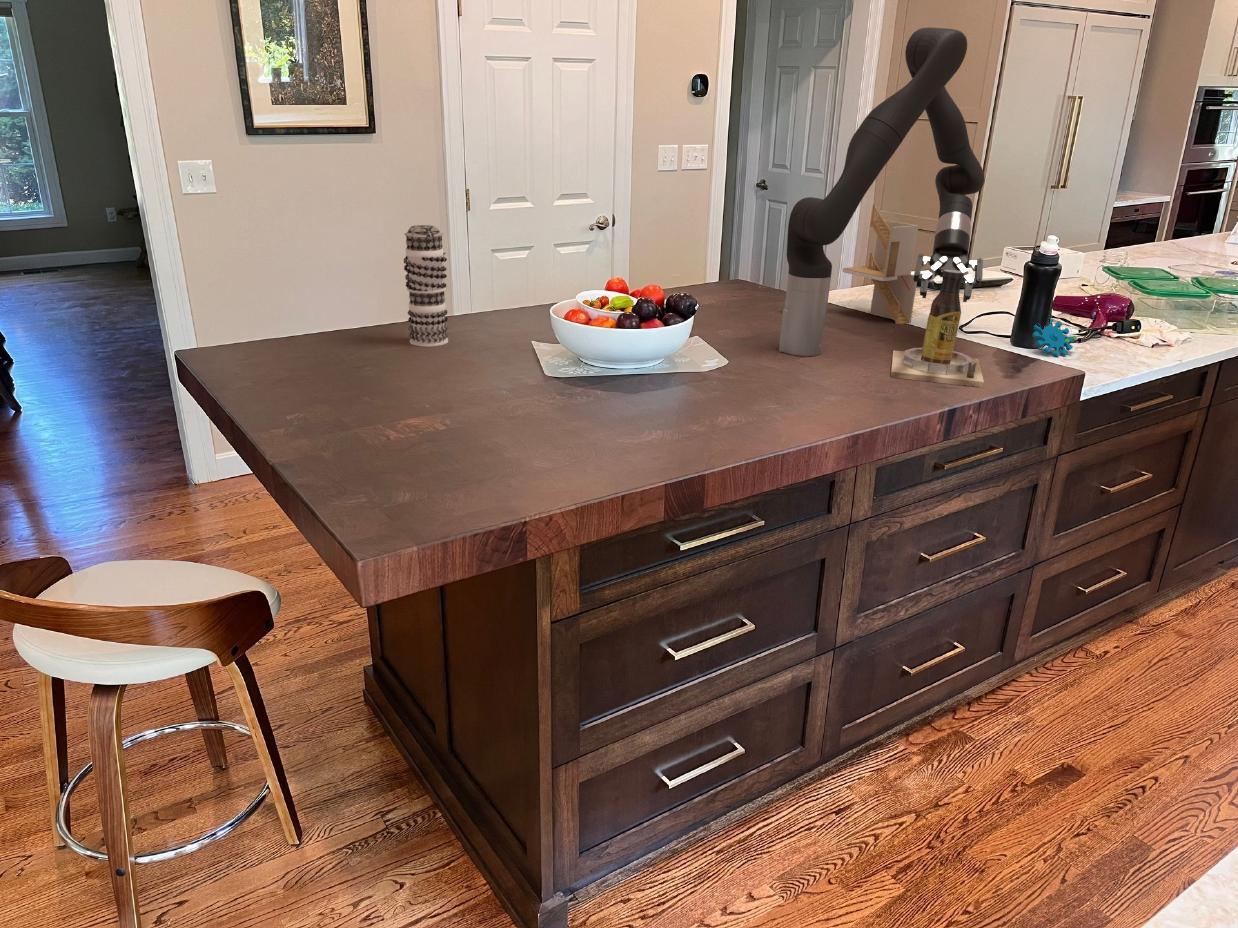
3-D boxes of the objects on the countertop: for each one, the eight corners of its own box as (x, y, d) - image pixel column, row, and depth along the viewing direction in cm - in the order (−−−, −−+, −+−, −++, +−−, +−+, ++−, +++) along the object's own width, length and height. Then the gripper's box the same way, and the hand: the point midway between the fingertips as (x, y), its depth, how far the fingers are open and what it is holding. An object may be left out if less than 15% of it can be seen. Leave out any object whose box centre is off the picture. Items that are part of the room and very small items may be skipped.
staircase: (885, 329, 225) (903, 211, 214) (836, 315, 237) (851, 203, 226) (910, 324, 230) (929, 209, 219) (861, 312, 243) (877, 202, 231)
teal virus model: (1039, 350, 202) (1033, 313, 206) (1023, 363, 207) (1017, 326, 211) (1082, 357, 204) (1075, 320, 208) (1065, 369, 209) (1059, 333, 213)
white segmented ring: (902, 370, 184) (904, 356, 183) (903, 353, 197) (905, 340, 196) (973, 378, 181) (976, 364, 180) (970, 361, 193) (972, 347, 192)
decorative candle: (455, 337, 201) (450, 224, 192) (443, 348, 193) (438, 230, 183) (415, 335, 202) (409, 222, 192) (402, 345, 193) (395, 228, 184)
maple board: (890, 377, 184) (891, 371, 183) (892, 355, 200) (893, 350, 199) (982, 387, 179) (983, 382, 179) (977, 364, 195) (978, 359, 195)
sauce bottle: (935, 370, 185) (952, 274, 178) (913, 362, 190) (929, 269, 183) (957, 367, 188) (975, 272, 181) (935, 359, 193) (951, 267, 186)
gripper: (921, 225, 199) (912, 285, 193) (988, 229, 195) (982, 291, 189) (917, 245, 205) (909, 304, 200) (982, 250, 202) (976, 310, 196)
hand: (944, 298), depth 194 cm, fingers open, 8 cm apart
